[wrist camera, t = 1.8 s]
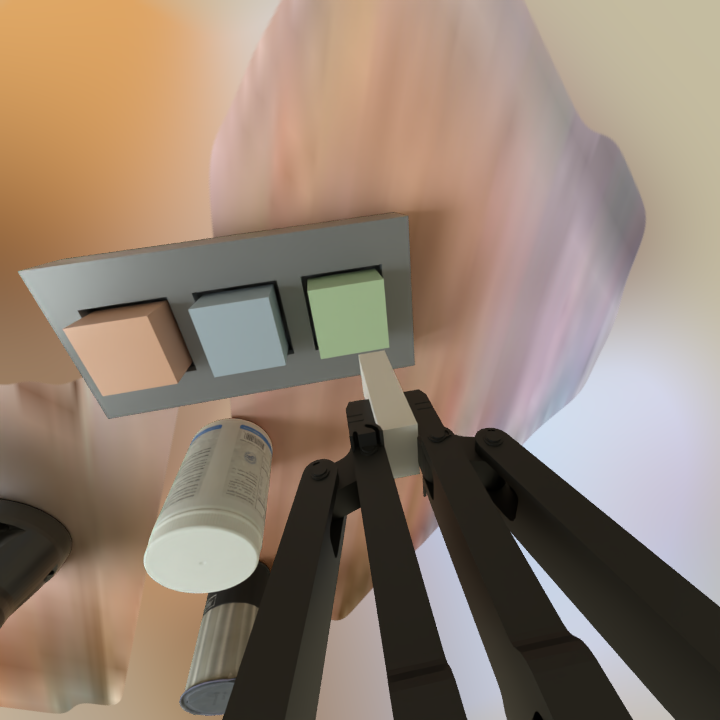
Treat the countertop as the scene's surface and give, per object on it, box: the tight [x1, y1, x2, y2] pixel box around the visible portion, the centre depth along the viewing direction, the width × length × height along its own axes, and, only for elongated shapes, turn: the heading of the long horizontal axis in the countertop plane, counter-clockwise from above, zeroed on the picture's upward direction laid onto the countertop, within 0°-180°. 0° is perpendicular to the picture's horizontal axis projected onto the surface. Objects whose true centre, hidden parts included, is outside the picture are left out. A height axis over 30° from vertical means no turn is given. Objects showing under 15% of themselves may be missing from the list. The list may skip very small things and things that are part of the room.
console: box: [18, 212, 415, 419], centre depth 31 cm, size 30×14×5 cm, turn 96°
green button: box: [307, 268, 389, 359], centre depth 28 cm, size 6×6×4 cm
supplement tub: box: [144, 418, 273, 593], centre depth 34 cm, size 10×10×15 cm
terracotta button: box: [63, 300, 193, 396], centre depth 27 cm, size 6×6×4 cm
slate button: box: [188, 284, 288, 377], centre depth 28 cm, size 6×6×4 cm
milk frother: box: [179, 561, 270, 716], centre depth 48 cm, size 14×16×15 cm
